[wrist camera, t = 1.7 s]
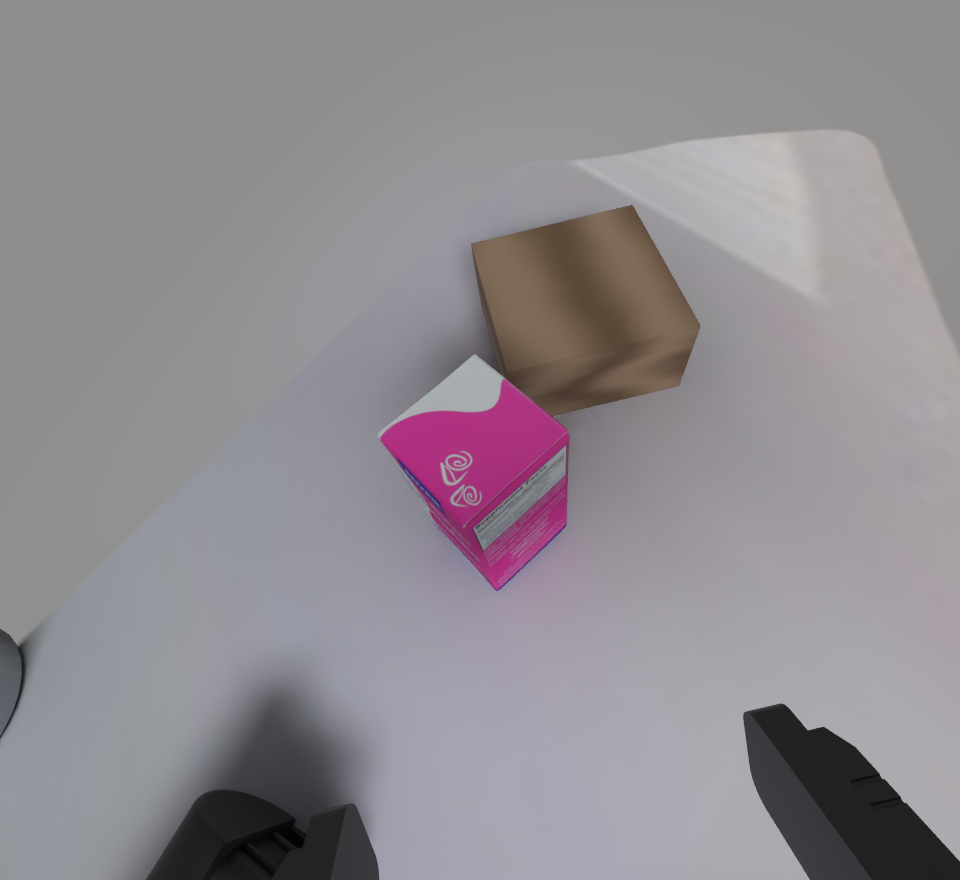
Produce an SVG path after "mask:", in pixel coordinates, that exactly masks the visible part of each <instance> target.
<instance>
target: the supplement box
mask: <svg viewBox="0 0 960 880" xmlns="http://www.w3.org/2000/svg"><path fill="white" fill-rule="evenodd" d="M377 436H378V438H379V440H380V441H381V443H382V444H383V446H384V447H385V449H386V450H387V452H388V453H389V455H390V456H391V458H392V459H393V461H394V463H395V464H396V466H397V467H398V469H399V470H400V472H401V473H402V475H403V477H404V478H405V480H406V481H407V483H408V485H409V486H410V487H411V489H412V490H413V492H414V493H415V495H416V496H417V498H418V499H419V501H420V503H421V504H422V506H423V507H424V509H425V510H426V512H427V513H428V515H429V516H430V518H431V519H432V521H433V522H434V524H435V525H436V526H437V527H438V528H439V529H440V530H441V531H442V532H443V533H445V534H446V535H447V536H448V537H449V539H450V540H451V541H452V542H453V543H454V544H455V545H456V546H457V547H458V548H459V549H460V551H461V552H462V553H463V554H464V555H465V556H466V557H467V558H468V559H469V560H470V561H471V563H472V564H473V565H474V566H475V567H476V568H477V569H478V570H479V571H480V572H481V574H482V575H483V576H484V577H485V578H486V579H487V581H488V582H489V583H490V584H491V585H492V587H493V588H494V589H495V590H496V591H498V590H500V589H501V588H502V587H503V586H504V585H505V584H506V583H507V582H508V581H509V580H510V579H511V578H512V577H514V576H515V575H516V574H517V573H518V572H519V571H520V570H521V569H522V568H523V567H524V566H525V565H526V564H527V563H528V562H529V561H530V560H532V559H533V558H534V557H535V556H536V555H537V554H538V553H539V552H540V551H541V550H542V549H543V548H544V547H545V546H546V545H547V544H548V543H549V542H550V541H551V540H553V539H554V538H555V537H556V536H557V535H558V534H559V533H560V532H561V531H562V530H563V529H564V528H565V527H566V515H567V484H568V453H569V431H568V430H567V429H566V428H565V427H564V426H563V425H562V424H561V423H559V422H558V421H557V420H556V419H555V418H553V417H552V416H551V415H550V414H549V413H548V412H546V411H545V410H544V409H542V408H541V407H540V406H539V405H538V404H536V403H535V402H534V401H533V400H532V399H531V398H529V397H528V396H527V395H526V394H525V393H523V392H522V391H521V390H519V389H518V388H517V387H516V386H515V385H513V384H512V383H511V382H510V381H508V380H507V379H506V378H505V377H504V376H502V375H501V374H500V373H498V372H497V371H496V370H495V369H493V368H492V367H491V366H490V365H489V364H487V363H486V362H485V361H484V360H482V359H481V358H480V357H479V356H477V355H476V354H474V355H472V356H471V357H470V358H469V359H468V360H467V361H465V362H464V363H463V364H462V365H461V366H460V367H458V368H457V369H456V370H455V371H454V372H452V373H451V374H450V375H449V376H448V377H447V378H445V379H444V380H443V381H442V382H441V383H439V384H438V385H437V386H436V387H435V388H433V389H432V390H431V391H430V392H428V393H427V394H426V395H425V396H423V397H422V398H421V399H420V400H418V401H417V402H416V403H415V404H413V405H412V406H411V407H410V408H408V409H407V410H406V411H405V412H403V413H402V414H401V415H400V416H398V417H397V418H396V419H395V420H393V421H392V422H391V423H389V424H388V425H387V426H386V427H385V428H383V429H382V430H381V431H380V432H379V433H378V435H377Z"/></svg>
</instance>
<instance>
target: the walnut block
mask: <svg viewBox="0 0 960 880" xmlns="http://www.w3.org/2000/svg"><path fill="white" fill-rule="evenodd" d="M471 247H472V253H473V259H474V264H475V270H476V276H477V282H478V287H479V293H480V299H481V305H482V309H483V312H484V316H485V320H486V323H487V327H488V331H489V334H490V338H491V342H492V345H493V349H494V352H495V356H496V360H497V363H498V367H499V371H500V374H501V375H502V376H504V377H505V378H506V379H507V380H508V381H510V382H511V383H512V384H513V385H515V386H516V387H517V388H518V389H519V390H521V391H522V392H523V393H525V394H526V395H527V396H528V397H529V398H531V399H532V400H533V401H534V402H535V403H536V404H538V405H539V406H540V407H541V408H542V409H544V410H545V411H546V412H548V413H549V414H550V415H551V416H554V415H558V414H562V413H567V412H571V411H575V410H579V409H583V408H588V407H592V406H596V405H600V404H604V403H609V402H613V401H617V400H621V399H626V398H630V397H634V396H638V395H642V394H647V393H651V392H655V391H659V390H663V389H668V388H672V387H676V386H679V384H680V381H681V378H682V376H683V373H684V370H685V367H686V365H687V362H688V359H689V356H690V354H691V351H692V348H693V345H694V343H695V340H696V337H697V334H698V332H699V329H700V324H699V322H698V320H697V319H696V317H695V315H694V313H693V311H692V310H691V308H690V306H689V304H688V303H687V301H686V299H685V297H684V296H683V294H682V292H681V290H680V288H679V287H678V285H677V283H676V281H675V280H674V278H673V276H672V274H671V273H670V271H669V269H668V267H667V265H666V264H665V262H664V260H663V258H662V257H661V255H660V253H659V251H658V249H657V248H656V246H655V244H654V242H653V241H652V239H651V237H650V235H649V234H648V232H647V230H646V228H645V226H644V225H643V223H642V221H641V219H640V218H639V216H638V214H637V212H636V211H635V209H634V207H633V205H630V206H626V207H622V208H617V209H613V210H609V211H605V212H601V213H597V214H593V215H589V216H584V217H580V218H576V219H572V220H568V221H564V222H560V223H556V224H551V225H547V226H543V227H539V228H535V229H531V230H527V231H522V232H518V233H514V234H510V235H506V236H502V237H498V238H494V239H489V240H485V241H481V242H477V243H473V244H471Z"/></svg>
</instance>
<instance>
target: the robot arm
mask: <svg viewBox="0 0 960 880" xmlns="http://www.w3.org/2000/svg"><path fill="white" fill-rule="evenodd" d="M21 677H22V666H21V656H20V653H19V650H18V647H17V645H16V643H15V642H14V641H13V639H12V638H11V637H10V635H9V634H7V633H5V632H4V631H2V630H1V629H0V735H1V734H2V732H3V731H4V728H5V726H6V724H7V722H8V720H9V718H10V716H11V714H12V712H13V710H14V706H15V703H16V700H17V697H18V694H19V690H20V683H21ZM743 719H744V727H745V734H746V742H747V749H748V756H749V764H750V770H751V775H752V778H753V781H754V784H755V787H756V789H757V792H758V794H759V796H760V798H761V800H762V802H763V804H764V806H765V808H766V809H767V811H768V813H769V814H770V816H771V818H772V819H773V821H774V822H775V824H776V826H777V827H778V829H779V830H780V832H781V834H782V835H783V837H784V838H785V840H786V842H787V843H788V845H789V847H790V848H791V850H792V851H793V853H794V855H795V856H796V858H797V859H798V861H799V863H800V864H801V866H802V867H803V869H804V871H805V872H806V874H807V876H808V877H809V879H810V880H960V861H959V860H958V859H957V858H956V857H955V856H954V855H953V854H952V853H951V851H950V850H949V849H948V848H947V847H946V846H945V845H944V844H943V843H942V842H941V841H940V839H939V838H938V837H937V836H936V835H935V834H934V833H933V832H932V831H931V830H930V828H929V827H928V826H927V825H926V824H925V823H924V822H923V821H922V820H921V819H920V818H919V816H918V815H917V814H916V813H915V812H914V811H913V810H912V809H911V808H910V807H909V805H908V804H907V803H904V802H903V801H902V800H901V797H900V796H899V795H898V793H897V792H896V791H895V790H894V789H893V788H892V787H891V786H890V785H889V784H888V782H887V781H886V780H885V779H882V778H881V776H880V774H879V773H878V772H877V770H876V769H875V768H874V767H873V766H872V765H871V764H870V763H869V762H868V761H867V759H866V758H865V757H864V756H863V755H862V754H861V753H860V752H859V751H858V750H857V749H856V747H854V746H853V745H851V744H850V743H848V742H847V741H845V740H843V739H842V738H840V737H839V736H837V735H836V734H834V733H833V732H831V731H829V730H828V729H826V728H825V727H821V728H817V729H812V730H807V729H806V728H805V727H804V726H803V724H802V723H801V722H800V721H799V720H798V718H797V717H796V716H795V715H794V714H793V712H792V711H791V710H790V709H789V708H788V707H787V706H786V705H784V704H777V705H772V706H768V707H764V708H760V709H755V710H751V711H747V712H745V713H744V715H743ZM271 880H379V870H378V864H377V859H376V856H375V853H374V850H373V848H372V845H371V843H370V840H369V838H368V835H367V833H366V830H365V828H364V825H363V822H362V820H361V817H360V815H359V812H358V810H357V808H356V806H355V805H354V804H352V803H351V804H347V805H343V806H338V807H334V808H330V809H326V810H321V811H317V812H316V813H314V815H313V816H312V819H311V821H310V824H309V828H308V831H307V835H306V838H305V842H304V845H303V848H299V849H295V850H290V851H289V852H288V854H287V855H286V857H285V859H284V860H283V862H282V863H281V865H280V866H279V868H278V870H277V871H276V873H275V874H274V876H273V878H272V879H271Z"/></svg>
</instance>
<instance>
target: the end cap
mask: <svg viewBox="0 0 960 880" xmlns="http://www.w3.org/2000/svg"><path fill="white" fill-rule="evenodd" d="M295 820H296V819H295V818H293V817H292V816H291V815H289V814H288V813H286V812H285V811H283V810H282V809H280V808H278V807H277V806H275V805H273V804H271V803H269V802H267V801H265V800H262V799H260V798H258V797H255V796H252V795H249V794H246V793H243V792H238V791H232V790H214V791H210V792H207V793H205V794H203V795H202V796H200V797H199V798H198V799H197V800H196V801H195V802H194V804H193V806H192V807H191V809H190V810H189V812H188V814H187V815H186V817H185V818H184V820H183V822H182V823H181V825H180V826H179V828H178V830H177V831H176V833H175V834H174V836H173V838H172V839H171V841H170V842H169V844H168V846H167V847H166V849H165V850H164V852H163V854H162V855H161V857H160V858H159V860H158V862H157V863H156V865H155V867H154V868H153V870H152V871H151V873H150V875H149V876H148V878H147V879H146V880H271V879H272V878H273V876H274V874H275V873H276V871H277V870H278V868H279V866H280V865H281V863H282V862H283V860H284V859H285V857H286V855H287V854H288V852H289V851H290V850H295V849H299V848H303V845H304V842H305V838H306V834H305V833H303V832H302V831H301V830H299V829H298V828H296V827H295V826H293V825H294V823H295Z"/></svg>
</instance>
